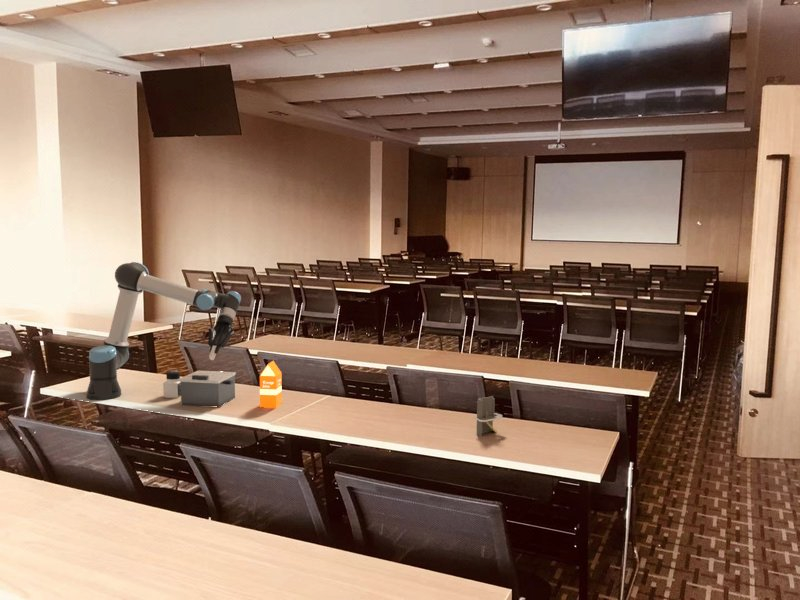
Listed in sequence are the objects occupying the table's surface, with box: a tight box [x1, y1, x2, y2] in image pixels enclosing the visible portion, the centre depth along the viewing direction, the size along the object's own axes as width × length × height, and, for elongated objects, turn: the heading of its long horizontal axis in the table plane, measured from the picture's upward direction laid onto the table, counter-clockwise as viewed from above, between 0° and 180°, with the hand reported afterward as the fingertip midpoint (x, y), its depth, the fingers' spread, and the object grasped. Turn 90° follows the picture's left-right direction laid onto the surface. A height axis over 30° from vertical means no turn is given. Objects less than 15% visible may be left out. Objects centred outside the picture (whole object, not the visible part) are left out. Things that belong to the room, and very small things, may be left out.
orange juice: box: [259, 360, 283, 409], centre depth 290 cm, size 8×9×20 cm
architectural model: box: [474, 395, 503, 437], centre depth 251 cm, size 20×25×15 cm
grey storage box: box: [180, 375, 236, 408], centre depth 295 cm, size 18×23×11 cm
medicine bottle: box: [162, 370, 181, 399], centre depth 305 cm, size 7×7×12 cm
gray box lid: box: [179, 370, 237, 384], centre depth 295 cm, size 20×19×3 cm
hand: (211, 358), depth 297 cm, fingers closed
